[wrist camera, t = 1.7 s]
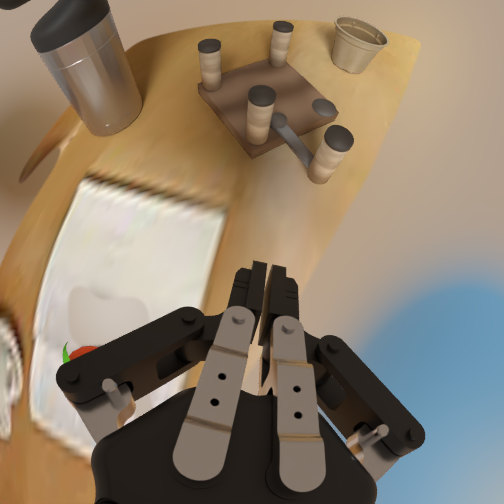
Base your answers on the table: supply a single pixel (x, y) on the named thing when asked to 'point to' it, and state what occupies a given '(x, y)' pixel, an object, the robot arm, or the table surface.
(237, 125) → the stool
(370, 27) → the flower pot
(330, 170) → the swing leg
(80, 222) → the table surface
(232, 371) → the robot arm
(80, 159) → the table surface
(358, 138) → the table surface
